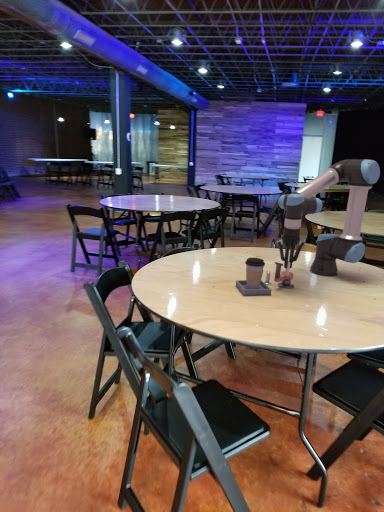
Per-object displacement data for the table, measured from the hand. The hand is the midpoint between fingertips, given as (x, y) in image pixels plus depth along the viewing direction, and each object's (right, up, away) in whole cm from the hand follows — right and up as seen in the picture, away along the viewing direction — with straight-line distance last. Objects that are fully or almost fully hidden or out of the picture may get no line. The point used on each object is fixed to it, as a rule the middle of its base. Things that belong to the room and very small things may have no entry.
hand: (287, 274), depth 168 cm
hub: (+2, -6, +9) cm, 11 cm away
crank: (0, -3, +6) cm, 6 cm away
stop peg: (-7, -5, +11) cm, 15 cm away
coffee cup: (-17, -7, 0) cm, 18 cm away
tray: (-17, -8, 0) cm, 19 cm away
